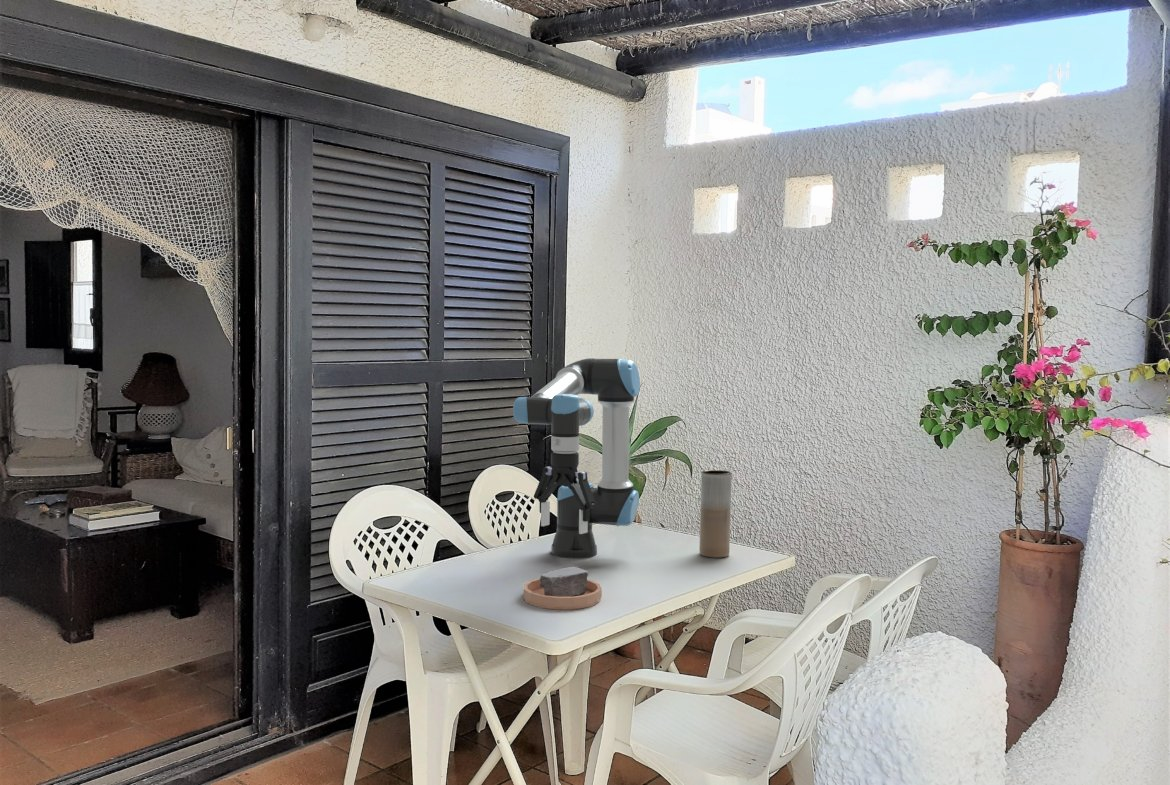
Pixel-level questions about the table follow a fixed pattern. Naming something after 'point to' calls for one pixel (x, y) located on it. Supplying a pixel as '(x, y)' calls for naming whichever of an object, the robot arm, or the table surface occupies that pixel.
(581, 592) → the decorative stone
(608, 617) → the table surface
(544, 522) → the robot arm
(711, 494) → the vase
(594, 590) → the saucer
